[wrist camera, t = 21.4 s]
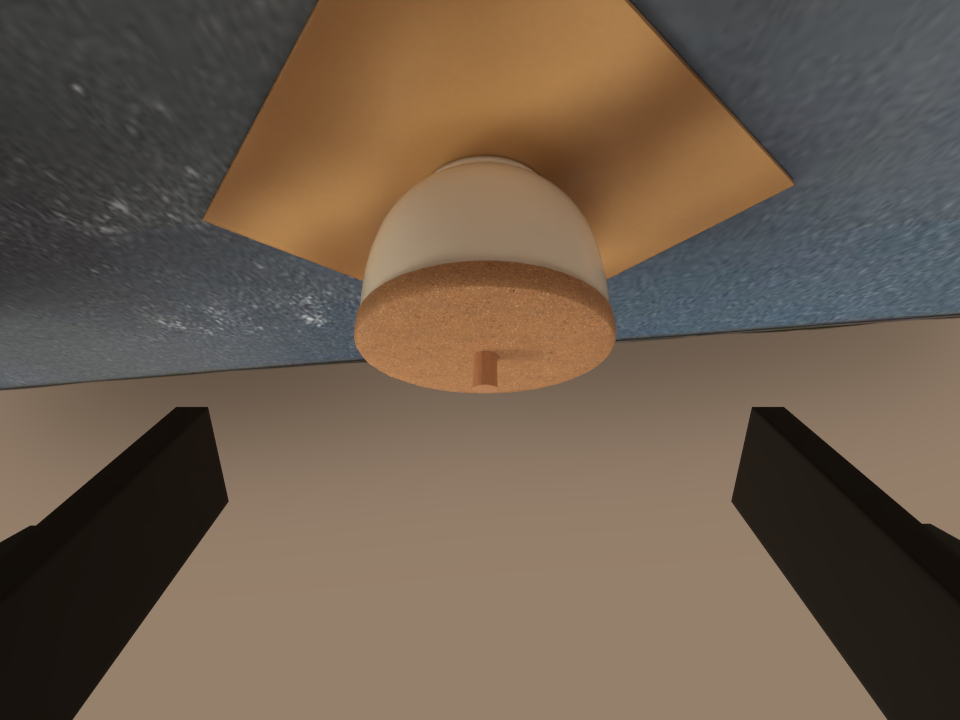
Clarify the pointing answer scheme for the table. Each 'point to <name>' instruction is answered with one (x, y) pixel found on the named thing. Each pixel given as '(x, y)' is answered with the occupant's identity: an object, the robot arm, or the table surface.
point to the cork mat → (488, 125)
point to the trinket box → (485, 284)
